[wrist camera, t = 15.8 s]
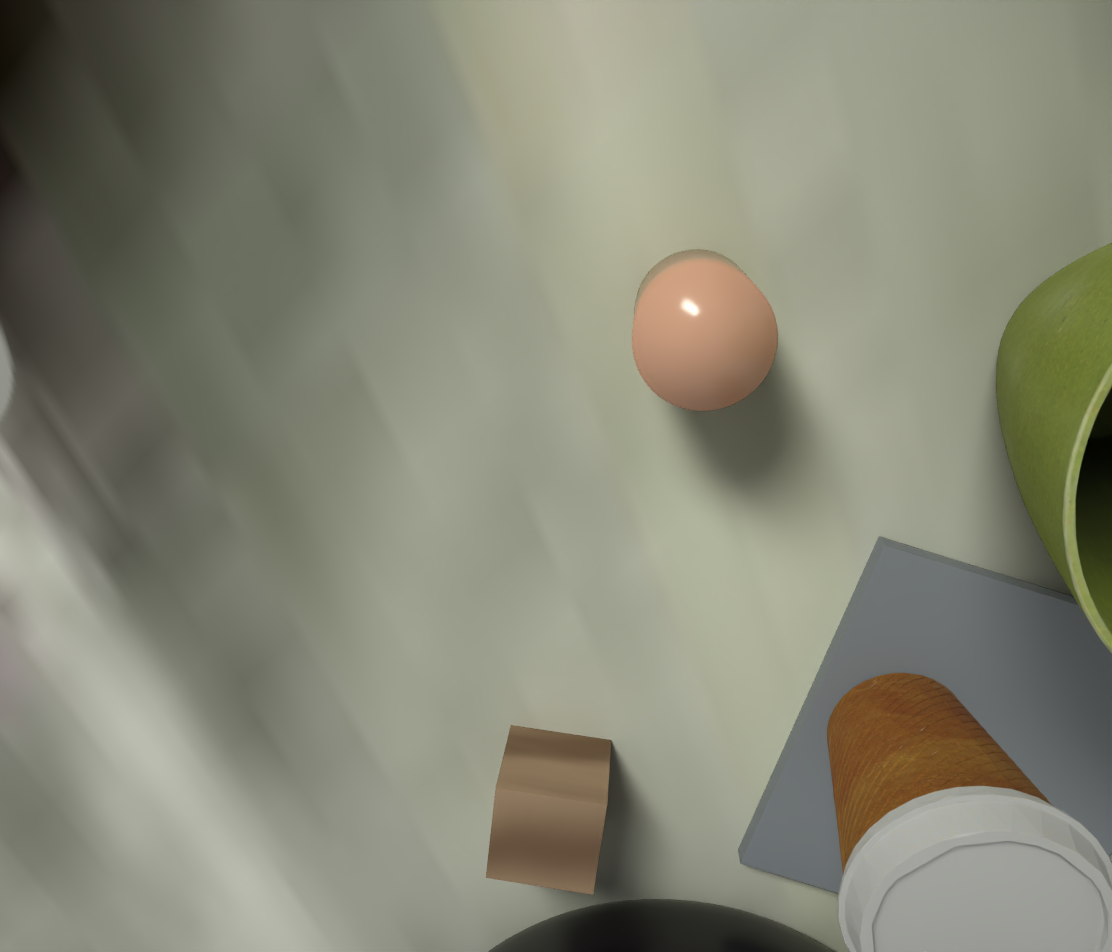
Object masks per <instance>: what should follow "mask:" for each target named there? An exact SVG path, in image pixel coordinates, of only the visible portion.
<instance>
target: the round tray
mask: <svg viewBox="0 0 1112 952" xmlns="http://www.w3.org/2000/svg"><path fill="white" fill-rule="evenodd" d="M488 952H833V951H832V950H830V949H828V948H827V947H825V946H823V945H822V944H820V943H818V942H816V941H815V940H813V939H811V938H809V937H807V936H805V935H804V934H802V933H799V932H797V931H795V930H793V929H791V928H789V927H787V926H784V925H782V924H780V923H777V922H774V921H772V920H769V919H766V918H764V917H761V916H758V915H755V914H752V913H748V912H745V911H741V910H738V909H733V908H729V907H725V906H720V905H715V904H709V903H702V902H695V901H685V900H671V899H643V900H628V901H618V902H611V903H604V904H599V905H594V906H589V907H585V908H581V909H577V910H574V911H570V912H567V913H564V914H561V915H558V916H555V917H552V918H550V919H547V920H545V921H542V922H540V923H538V924H535V925H533V926H531V927H529V928H527V929H525V930H523V931H521V932H519V933H517V934H516V935H514V936H512V937H510V938H509V939H507V940H505V941H503V942H502V943H500V944H499V945H497V946H496V947H494V948H493V949H491V950H490V951H488Z"/></svg>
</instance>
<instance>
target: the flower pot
mask: <svg viewBox="0 0 1112 952" xmlns="http://www.w3.org/2000/svg"><path fill="white" fill-rule="evenodd" d="M996 394H997V405H998V413H999V419H1000V425H1001V430H1002V434H1003V438H1004V442H1005V446H1006V450H1007V455H1008V458H1009V461H1010V464H1011V467H1012V471H1013V474H1014V477H1015V480H1016V483H1017V485H1018V488H1019V491H1020V493H1021V496H1022V499H1023V501H1024V504H1025V506H1026V508H1027V511H1028V513H1029V515H1030V518H1031V520H1032V522H1033V524H1034V526H1035V528H1036V530H1037V532H1038V534H1039V536H1040V538H1041V540H1042V542H1043V544H1044V546H1045V548H1046V550H1047V552H1048V554H1049V555H1050V557H1051V559H1052V561H1053V562H1054V564H1055V566H1056V568H1057V569H1058V571H1059V573H1060V574H1061V576H1062V578H1063V580H1064V581H1065V583H1066V585H1067V586H1068V588H1069V590H1070V591H1071V593H1072V595H1073V597H1074V598H1075V600H1076V602H1077V603H1078V605H1079V606H1080V608H1081V610H1082V611H1083V613H1084V614H1085V616H1086V617H1087V619H1088V621H1089V622H1090V624H1091V625H1092V627H1093V628H1094V630H1095V631H1096V633H1097V635H1098V636H1099V638H1100V639H1101V641H1102V642H1103V643H1104V644H1105V646H1106V647H1107V648H1108V649H1109V651H1110V652H1111V653H1112V243H1110V244H1108V245H1106V246H1104V247H1102V248H1100V249H1097V250H1095V251H1093V252H1091V253H1090V254H1088V255H1086V256H1084V257H1082V258H1080V259H1078V260H1076V261H1074V262H1072V263H1071V264H1069V265H1068V266H1066V267H1065V268H1063V269H1061V270H1060V271H1058V272H1057V273H1056V274H1054V275H1053V276H1051V277H1050V278H1048V279H1047V280H1046V281H1044V282H1043V283H1042V284H1041V285H1040V286H1038V287H1037V288H1036V289H1035V290H1034V291H1033V292H1031V293H1030V294H1029V295H1028V296H1027V297H1026V299H1025V300H1024V301H1023V302H1022V303H1021V304H1020V305H1019V307H1018V308H1017V309H1016V311H1015V312H1014V314H1013V316H1012V317H1011V319H1010V320H1009V322H1008V324H1007V326H1006V329H1005V331H1004V333H1003V336H1002V339H1001V343H1000V347H999V352H998V358H997V367H996Z"/></svg>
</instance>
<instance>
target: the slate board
mask: <svg viewBox="0 0 1112 952" xmlns="http://www.w3.org/2000/svg"><path fill="white" fill-rule="evenodd" d="M890 673H910V674H917V675H924V676H926V677H928V678H931V679H934V680H935V681H937V682H939V683H941V684H942V685H944V686H945V687H947V688H948V689H949V690H950V691H951V692H952V693H953V694H954V695H955V696H956V698H957V699H958V700H959V701H960V702H961V704H963V705H964V707H965V708H966V709H967V710H968V711H969V712H970V713H971V714H972V715H973V717H974V718H975V719H976V720H977V721H978V722H979V723H980V725H981V726H982V727H983V728H984V729H985V730H986V731H987V733H988V734H989V735H990V736H991V737H992V738H993V739H994V740H995V741H996V742H997V743H998V745H999V746H1000V747H1001V748H1002V749H1003V750H1004V751H1005V752H1006V753H1007V754H1008V756H1009V757H1010V758H1011V759H1012V760H1013V761H1014V762H1015V764H1016V765H1017V766H1018V767H1019V768H1020V769H1021V770H1022V771H1023V773H1024V774H1025V775H1026V776H1027V777H1028V778H1029V779H1030V781H1031V782H1032V783H1033V784H1034V785H1035V786H1036V787H1037V788H1038V789H1039V791H1040V792H1041V793H1042V794H1043V795H1044V796H1045V797H1046V798H1047V799H1048V801H1049V802H1050V803H1051V804H1052V805H1053V806H1054V807H1057V808H1059V809H1061V810H1063V811H1064V812H1066V813H1067V814H1069V815H1070V816H1072V817H1073V818H1074V819H1076V820H1077V821H1079V822H1080V823H1081V824H1083V825H1084V826H1085V827H1086V828H1087V829H1088V830H1089V831H1090V833H1091V834H1092V835H1093V836H1094V837H1095V838H1096V839H1097V840H1098V842H1099V843H1100V845H1101V846H1102V848H1103V849H1104V851H1105V852H1106V854H1107V855H1108V857H1110V855H1111V853H1112V653H1111V652H1110V651H1109V649H1108V648H1107V647H1106V646H1105V644H1104V643H1103V642H1102V641H1101V639H1100V638H1099V636H1098V635H1097V633H1096V631H1095V630H1094V628H1093V627H1092V625H1091V624H1090V622H1089V621H1088V619H1087V617H1086V616H1085V614H1084V613H1083V611H1082V610H1081V608H1080V606H1079V605H1078V603H1077V602H1076V600H1075V598H1074V597H1073V596H1069V595H1066V594H1063V593H1060V592H1057V591H1053V590H1050V589H1047V588H1044V587H1040V586H1037V585H1034V584H1031V583H1028V582H1024V581H1021V580H1018V579H1015V578H1011V577H1008V576H1005V575H1002V574H999V573H995V572H992V571H989V570H986V569H982V568H979V567H976V566H973V565H970V564H966V563H963V562H960V561H957V560H953V559H950V558H947V557H944V556H941V555H937V554H934V553H931V552H928V551H924V550H921V549H918V548H915V547H912V546H908V545H905V544H902V543H899V542H895V541H892V540H889V539H886V538H883V537H879V538H878V540H877V542H876V545H875V547H874V549H873V551H872V553H871V556H870V558H869V560H868V562H867V565H866V567H865V569H864V571H863V573H862V576H861V578H860V580H859V582H858V585H857V587H856V589H855V591H854V593H853V596H852V598H851V600H850V602H849V605H848V607H847V609H846V611H845V613H844V616H843V618H842V620H841V622H840V625H839V627H838V629H837V631H836V633H835V636H834V638H833V640H832V642H831V645H830V647H829V649H828V651H827V653H826V656H825V658H824V660H823V662H822V665H821V667H820V669H819V671H818V673H817V676H816V678H815V680H814V682H813V685H812V687H811V689H810V691H809V693H808V696H807V698H806V700H805V702H804V705H803V707H802V709H801V711H800V713H799V716H798V718H797V720H796V722H795V725H794V727H793V729H792V731H791V733H790V736H789V738H788V740H787V742H786V745H785V747H784V749H783V751H782V753H781V756H780V758H779V760H778V762H777V765H776V767H775V769H774V771H773V773H772V776H771V778H770V780H769V782H768V785H767V787H766V789H765V791H764V793H763V796H762V798H761V800H760V802H759V805H758V807H757V809H756V811H755V813H754V816H753V818H752V820H751V822H750V825H749V827H748V829H747V831H746V833H745V836H744V838H743V840H742V842H741V845H740V847H739V849H738V851H739V858H740V863H741V864H744V865H747V866H750V867H754V868H757V869H760V870H764V871H767V872H770V873H773V874H777V875H780V876H783V877H786V878H790V879H793V880H796V881H799V882H803V883H806V884H809V885H812V886H816V887H819V888H822V889H825V890H829V891H832V892H835V893H838V894H839V889H840V885H841V880H842V876H843V871H842V861H841V852H840V845H839V834H838V828H837V817H836V809H835V802H834V796H833V785H832V776H831V768H830V759H829V750H828V743H827V726H828V722H829V718H830V716H831V714H832V712H833V710H834V708H835V706H836V705H837V703H838V702H839V701H840V700H841V698H842V697H843V696H844V695H845V694H846V693H847V692H849V691H850V690H851V689H852V688H853V687H855V686H857V685H858V684H860V683H862V682H864V681H866V680H869V679H871V678H874V677H876V676H879V675H885V674H890Z"/></svg>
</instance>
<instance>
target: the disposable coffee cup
mask: <svg viewBox="0 0 1112 952" xmlns="http://www.w3.org/2000/svg"><path fill="white" fill-rule="evenodd" d="M827 743H828V750H829V759H830V768H831V776H832V785H833V796H834V802H835V809H836V817H837V828H838V834H839V845H840V852H841V861H842V871H843V876H842V880H841V885H840V889H839V894H838V920H839V924H840V927H841V931H842V934H843V938H844V941H845V943H846V945H847V947H848V949H849V950H850V952H924V951H925V952H1112V864H1111V861H1110V858H1109V857H1108V855H1107V854H1106V852H1105V851H1104V849H1103V848H1102V846H1101V845H1100V843H1099V842H1098V840H1097V839H1096V838H1095V837H1094V836H1093V835H1092V834H1091V833H1090V831H1089V830H1088V829H1087V828H1086V827H1085V826H1084V825H1083V824H1081V823H1080V822H1079V821H1077V820H1076V819H1074V818H1073V817H1072V816H1070V815H1069V814H1067V813H1066V812H1064V811H1063V810H1061V809H1059V808H1057V807H1054V806H1053V805H1052V804H1051V803H1050V802H1049V801H1048V799H1047V798H1046V797H1045V796H1044V795H1043V794H1042V793H1041V792H1040V791H1039V789H1038V788H1037V787H1036V786H1035V785H1034V784H1033V783H1032V782H1031V781H1030V779H1029V778H1028V777H1027V776H1026V775H1025V774H1024V773H1023V771H1022V770H1021V769H1020V768H1019V767H1018V766H1017V765H1016V764H1015V762H1014V761H1013V760H1012V759H1011V758H1010V757H1009V756H1008V754H1007V753H1006V752H1005V751H1004V750H1003V749H1002V748H1001V747H1000V746H999V745H998V743H997V742H996V741H995V740H994V739H993V738H992V737H991V736H990V735H989V734H988V733H987V731H986V730H985V729H984V728H983V727H982V726H981V725H980V723H979V722H978V721H977V720H976V719H975V718H974V717H973V715H972V714H971V713H970V712H969V711H968V710H967V709H966V708H965V707H964V705H963V704H961V702H960V701H959V700H958V699H957V698H956V696H955V695H954V694H953V693H952V692H951V691H950V690H949V689H948V688H947V687H945V686H944V685H942V684H941V683H939V682H937V681H935V680H934V679H931V678H928V677H926V676H924V675H917V674H910V673H890V674H885V675H879V676H876V677H874V678H871V679H869V680H866V681H864V682H862V683H860V684H858V685H857V686H855V687H853V688H852V689H851V690H850V691H849V692H847V693H846V694H845V695H844V696H843V697H842V698H841V700H840V701H839V702H838V703H837V705H836V706H835V708H834V710H833V712H832V714H831V716H830V718H829V722H828V726H827Z"/></svg>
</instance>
